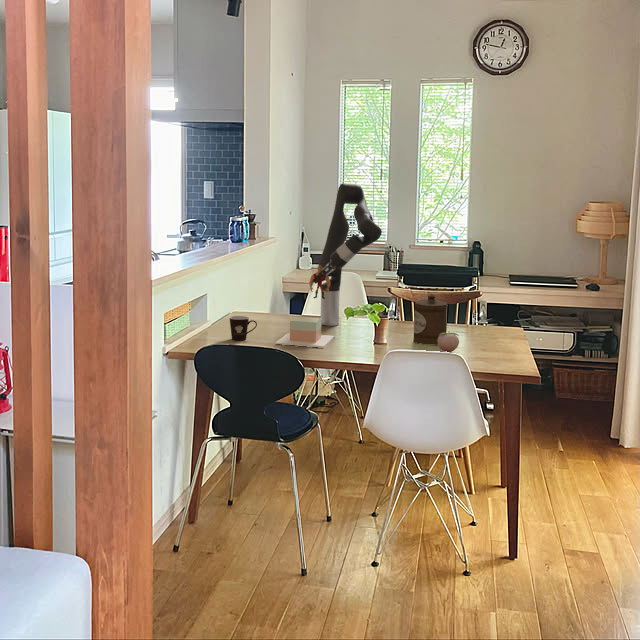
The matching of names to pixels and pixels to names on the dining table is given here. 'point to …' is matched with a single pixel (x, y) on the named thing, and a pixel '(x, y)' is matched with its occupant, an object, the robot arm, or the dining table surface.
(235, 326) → the coffee mug
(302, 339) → the two-tone green pink block
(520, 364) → the dining table surface
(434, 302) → the wooden container
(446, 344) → the decorative fruit
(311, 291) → the action figure
